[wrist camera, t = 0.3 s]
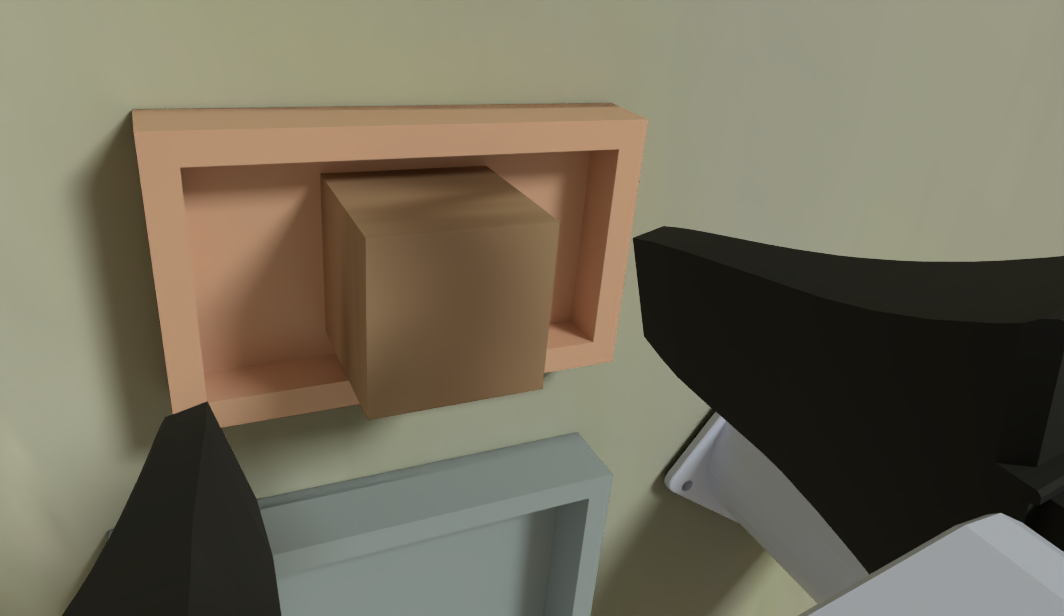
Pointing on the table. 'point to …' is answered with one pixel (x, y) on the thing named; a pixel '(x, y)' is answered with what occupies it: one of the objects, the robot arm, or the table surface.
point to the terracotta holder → (296, 231)
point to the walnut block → (435, 286)
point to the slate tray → (447, 537)
